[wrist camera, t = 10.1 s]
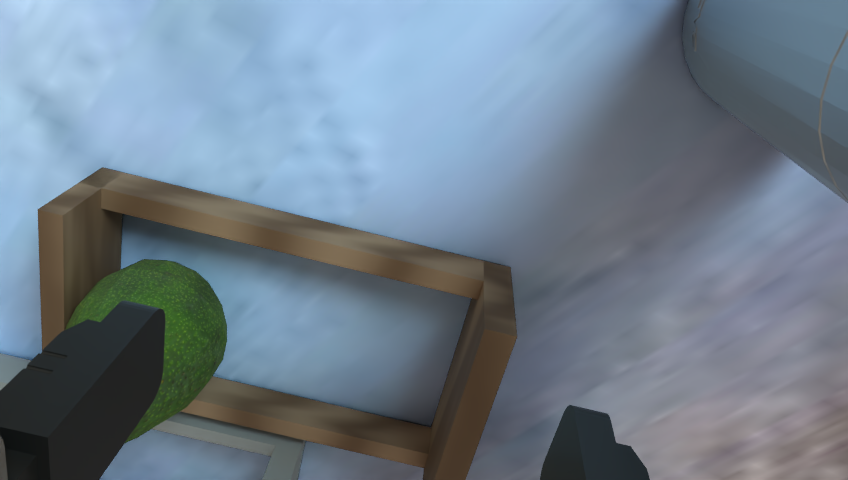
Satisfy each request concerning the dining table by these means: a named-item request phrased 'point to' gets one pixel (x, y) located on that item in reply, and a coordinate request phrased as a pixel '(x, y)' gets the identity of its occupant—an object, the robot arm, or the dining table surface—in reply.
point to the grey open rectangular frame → (212, 432)
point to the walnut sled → (272, 229)
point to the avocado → (167, 328)
